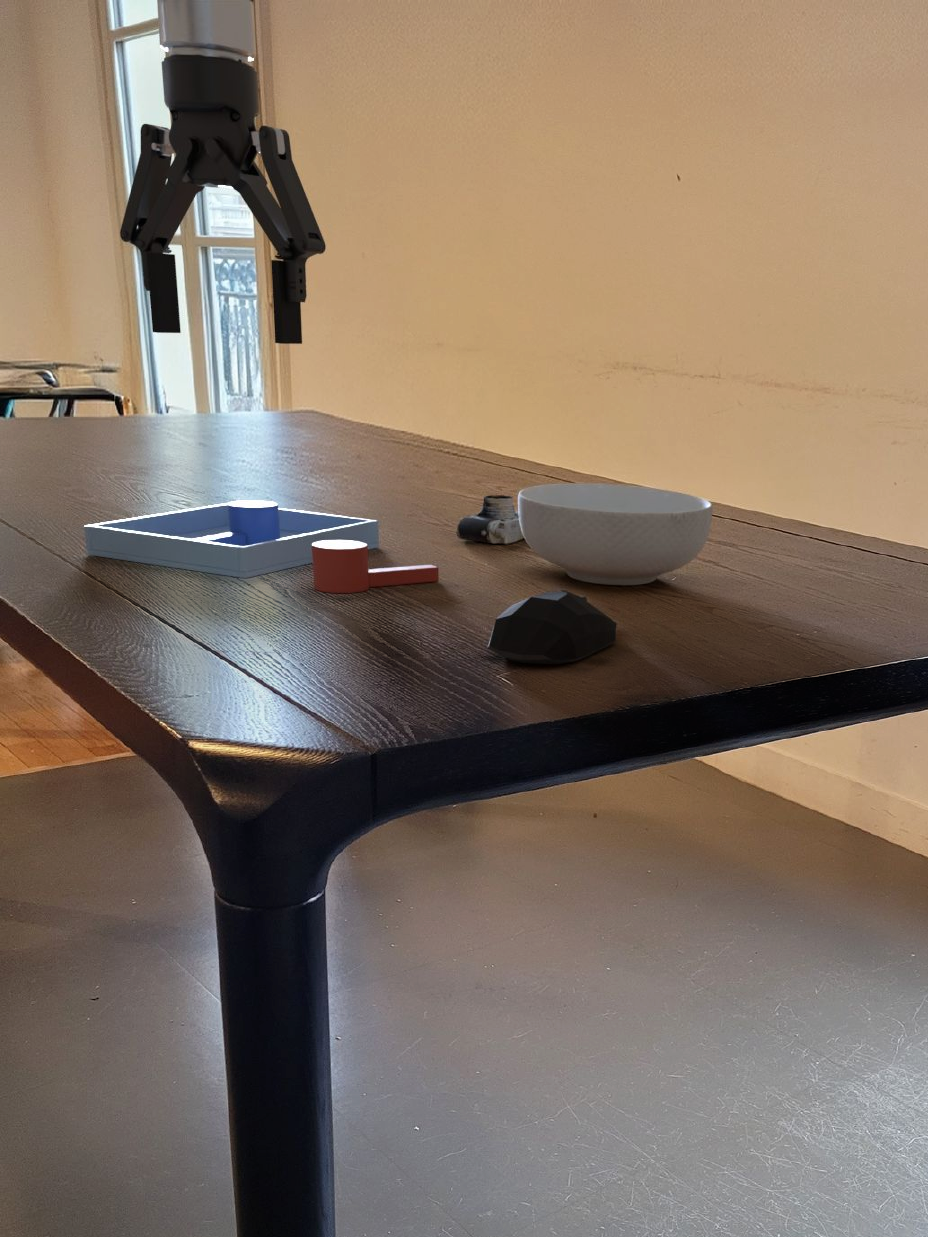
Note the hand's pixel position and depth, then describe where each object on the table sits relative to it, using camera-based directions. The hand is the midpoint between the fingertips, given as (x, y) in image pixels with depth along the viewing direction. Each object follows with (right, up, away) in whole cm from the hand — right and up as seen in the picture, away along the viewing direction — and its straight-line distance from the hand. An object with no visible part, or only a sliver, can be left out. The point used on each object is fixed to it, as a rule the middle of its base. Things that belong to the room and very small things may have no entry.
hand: (226, 338), depth 115 cm
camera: (+23, -14, +17) cm, 31 cm away
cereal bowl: (+34, -21, 0) cm, 40 cm away
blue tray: (0, -18, +4) cm, 18 cm away
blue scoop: (0, -18, +2) cm, 18 cm away
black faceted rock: (+32, -31, -24) cm, 50 cm away
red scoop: (+15, -23, -7) cm, 29 cm away
